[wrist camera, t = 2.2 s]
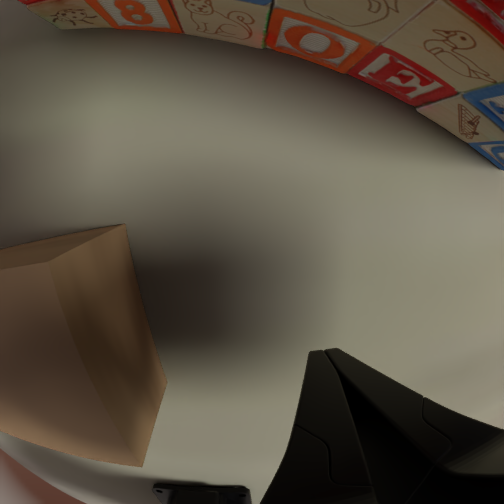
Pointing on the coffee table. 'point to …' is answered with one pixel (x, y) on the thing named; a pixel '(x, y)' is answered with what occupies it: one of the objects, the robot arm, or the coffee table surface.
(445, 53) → the stack of blocks
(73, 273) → the walnut brick
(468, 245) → the coffee table surface
